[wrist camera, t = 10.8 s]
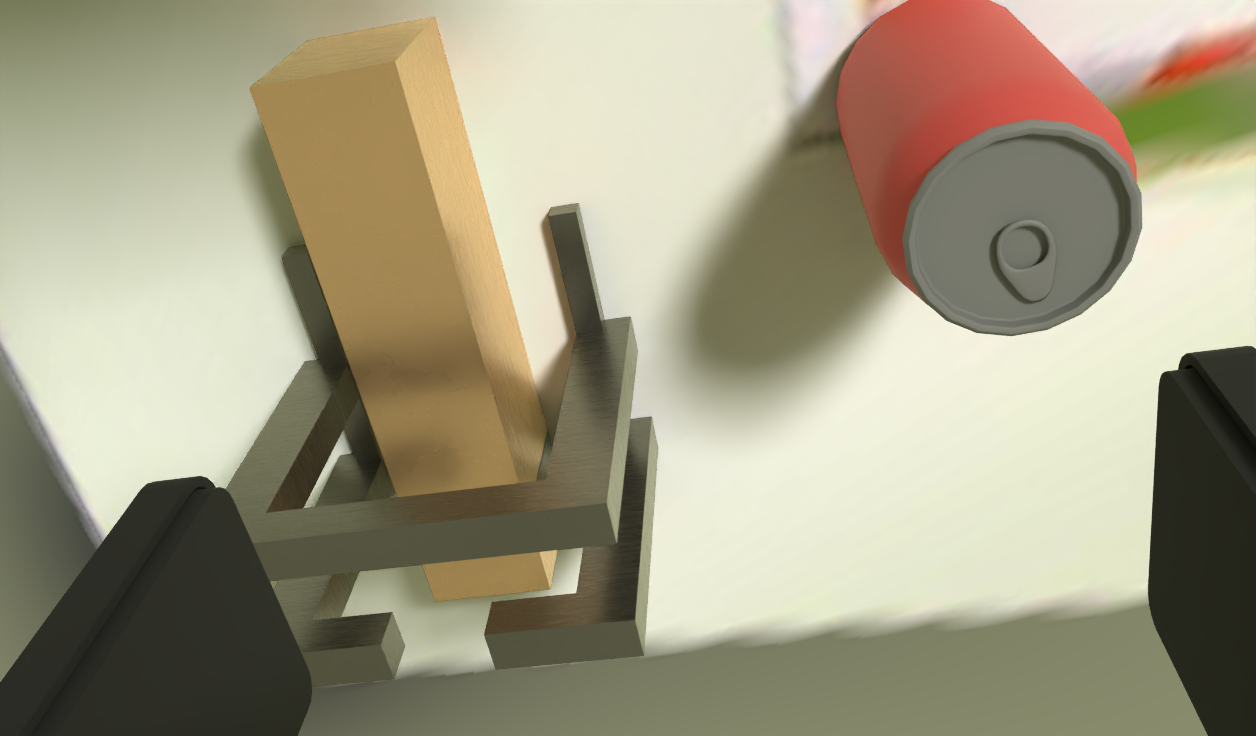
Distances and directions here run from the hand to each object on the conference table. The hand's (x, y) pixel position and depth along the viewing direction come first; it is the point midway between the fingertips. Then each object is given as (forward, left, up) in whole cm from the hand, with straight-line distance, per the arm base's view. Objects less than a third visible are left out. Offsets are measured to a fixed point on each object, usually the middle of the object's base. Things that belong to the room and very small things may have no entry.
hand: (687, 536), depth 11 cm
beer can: (+5, +7, -28) cm, 30 cm away
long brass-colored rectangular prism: (+10, -11, -28) cm, 32 cm away
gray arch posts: (+13, -11, -28) cm, 33 cm away
